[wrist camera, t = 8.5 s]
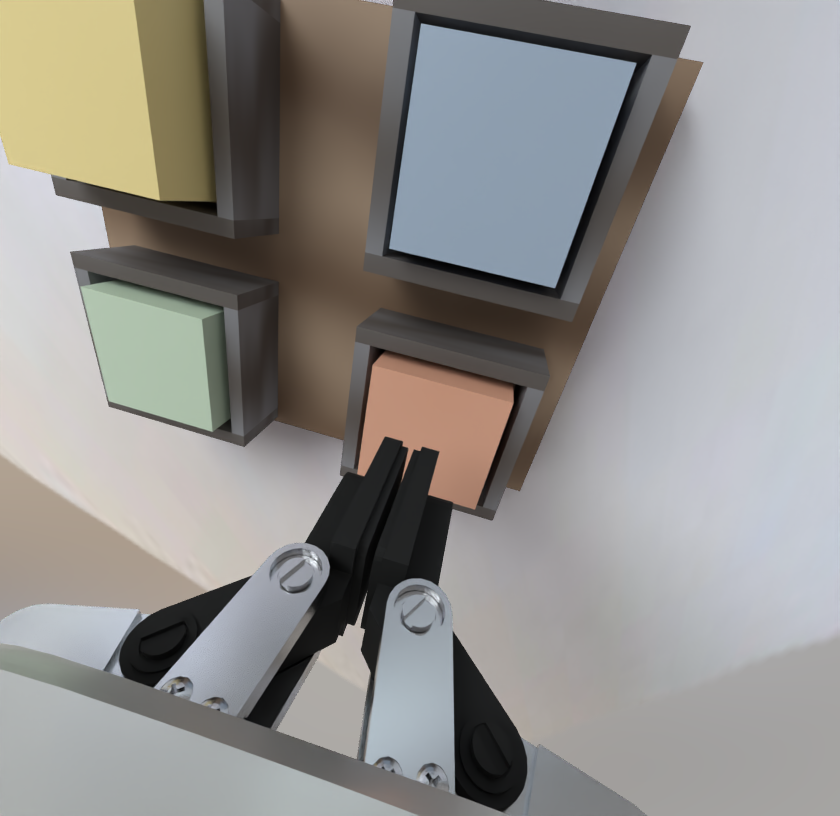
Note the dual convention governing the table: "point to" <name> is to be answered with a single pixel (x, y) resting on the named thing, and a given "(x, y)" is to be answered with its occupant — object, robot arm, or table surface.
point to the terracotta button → (437, 420)
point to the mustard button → (109, 94)
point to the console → (375, 217)
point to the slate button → (502, 151)
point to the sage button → (160, 352)
